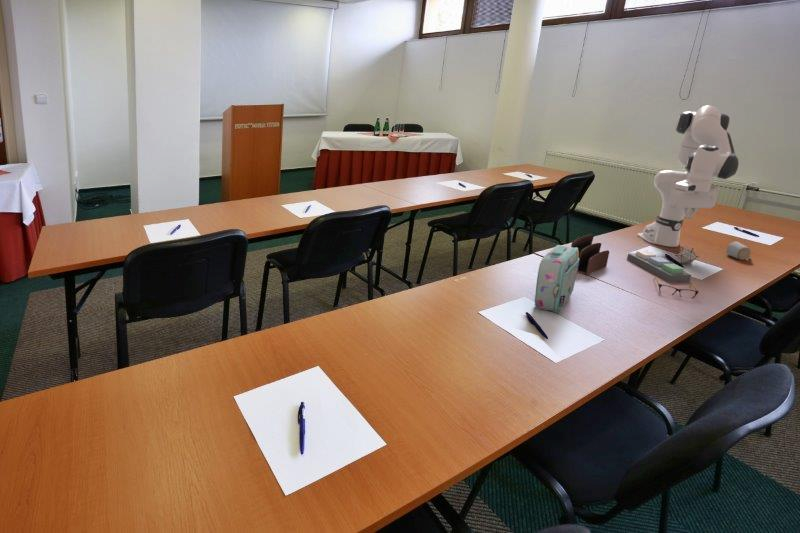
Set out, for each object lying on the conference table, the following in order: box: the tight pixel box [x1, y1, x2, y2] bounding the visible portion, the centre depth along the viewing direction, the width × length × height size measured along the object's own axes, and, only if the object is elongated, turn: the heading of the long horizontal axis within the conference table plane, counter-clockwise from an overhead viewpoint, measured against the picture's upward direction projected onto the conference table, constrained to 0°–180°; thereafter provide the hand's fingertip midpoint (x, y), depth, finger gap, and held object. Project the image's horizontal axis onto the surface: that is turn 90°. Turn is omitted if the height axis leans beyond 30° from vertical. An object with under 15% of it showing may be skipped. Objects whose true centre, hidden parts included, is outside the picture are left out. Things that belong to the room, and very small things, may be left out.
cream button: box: [635, 250, 657, 259], centre depth 221 cm, size 6×6×3 cm
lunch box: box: [534, 244, 579, 314], centre depth 169 cm, size 27×10×21 cm, turn 150°
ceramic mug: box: [726, 241, 752, 261], centre depth 239 cm, size 11×8×8 cm
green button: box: [662, 263, 685, 273], centre depth 206 cm, size 6×6×3 cm
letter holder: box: [570, 233, 610, 276], centre depth 209 cm, size 10×20×14 cm, turn 133°
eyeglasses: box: [653, 277, 700, 299], centre depth 192 cm, size 14×14×4 cm
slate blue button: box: [648, 256, 671, 266], centre depth 214 cm, size 6×6×3 cm
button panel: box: [626, 252, 692, 283], centre depth 214 cm, size 28×11×3 cm, turn 13°
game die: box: [674, 246, 699, 266], centre depth 224 cm, size 9×8×10 cm
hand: (688, 217), depth 197 cm, fingers closed
